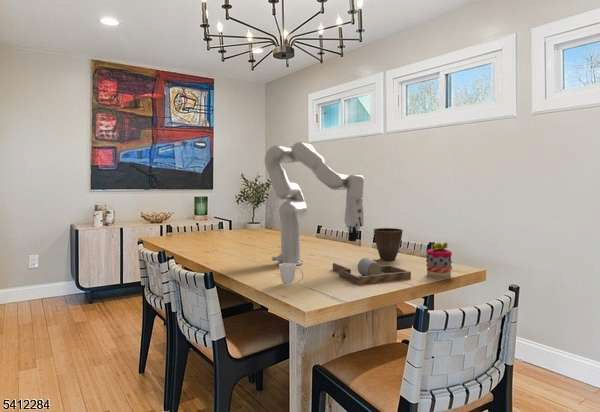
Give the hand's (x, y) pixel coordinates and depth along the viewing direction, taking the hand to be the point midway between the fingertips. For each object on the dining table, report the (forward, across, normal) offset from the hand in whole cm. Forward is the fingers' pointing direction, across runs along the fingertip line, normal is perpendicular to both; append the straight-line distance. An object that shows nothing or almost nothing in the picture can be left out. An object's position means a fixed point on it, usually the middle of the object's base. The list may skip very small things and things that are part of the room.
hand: (352, 240), depth 183 cm
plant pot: (+13, +13, -30) cm, 36 cm away
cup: (+14, -15, +36) cm, 41 cm away
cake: (+12, -26, -29) cm, 41 cm away
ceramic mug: (+13, -16, -2) cm, 20 cm away
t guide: (+13, -11, -1) cm, 17 cm away
